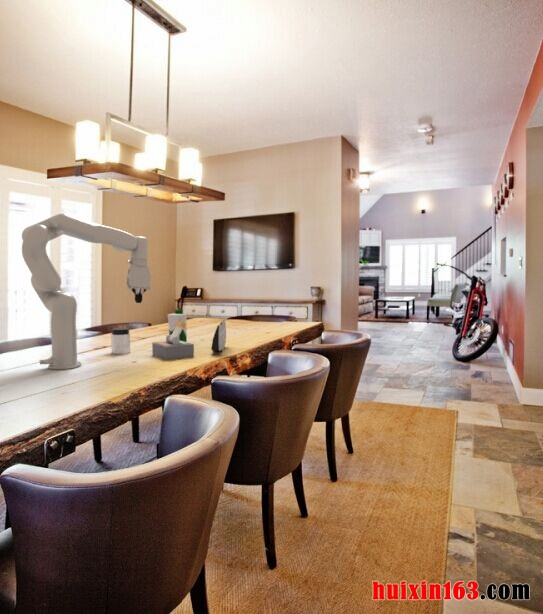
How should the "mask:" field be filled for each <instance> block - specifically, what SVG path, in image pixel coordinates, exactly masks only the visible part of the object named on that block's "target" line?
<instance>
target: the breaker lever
mask: <svg viewBox="0 0 543 614" xmlns="http://www.w3.org/2000/svg"><path fill="white" fill-rule="evenodd" d="M175 325H176V327H175V329H174V331H173V333H172V335H171V337H169V338H168V341H169V342H171V343H173V337H179V335H180V333H181V331H182V329H183V328H185V326H186V327H187V323H186V324H185V323H183V322H180V321H177V322H176V324H175Z"/></svg>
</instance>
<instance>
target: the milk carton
mask: <svg viewBox="0 0 543 614" xmlns="http://www.w3.org/2000/svg"><path fill="white" fill-rule="evenodd" d="M183 310H184V309H175V310H174V312H173V313H169V314H167V315H166V316H167V322H168V335H172V333H173V331H174V329H175V327H176V325H175V324H176V322H177V321H180V322H183V323H185V324H186V326H185V328H183V329H182V331H181V333H180V335H179V340H180V341H184V342H188V340H187V339H188V337H187V317H188V316H187V315H188V314H187V313H184V311H183Z"/></svg>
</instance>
